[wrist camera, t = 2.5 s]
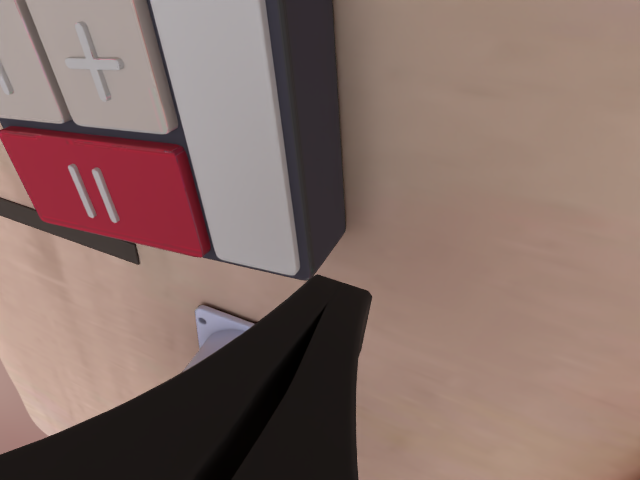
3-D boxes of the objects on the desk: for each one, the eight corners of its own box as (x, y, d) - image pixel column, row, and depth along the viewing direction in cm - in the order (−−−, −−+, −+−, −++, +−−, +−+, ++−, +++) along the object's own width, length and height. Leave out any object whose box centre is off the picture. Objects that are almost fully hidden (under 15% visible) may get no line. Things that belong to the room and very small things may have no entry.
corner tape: (139, 263, 27) (138, 264, 27) (-19, 207, 30) (-20, 208, 30) (45, -182, 15) (42, -183, 15) (-200, -199, 18) (-203, -200, 18)
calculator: (-96, -23, 16) (258, -58, 11) (12, -34, 20) (330, -65, 14) (34, 231, 23) (304, 297, 17) (101, 192, 26) (347, 236, 20)
